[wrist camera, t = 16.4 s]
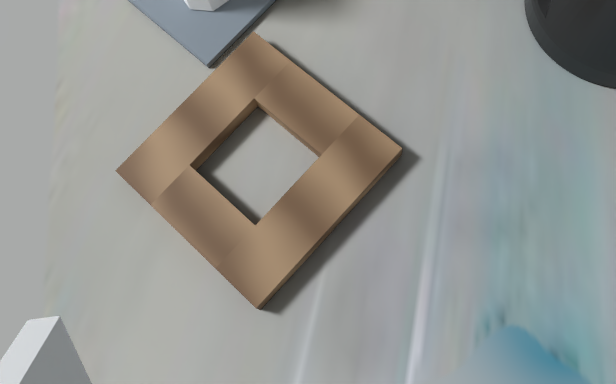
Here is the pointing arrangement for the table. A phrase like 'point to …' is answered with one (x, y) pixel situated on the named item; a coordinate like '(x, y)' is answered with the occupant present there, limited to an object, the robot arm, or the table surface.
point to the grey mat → (204, 23)
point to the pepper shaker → (205, 4)
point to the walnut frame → (297, 200)
